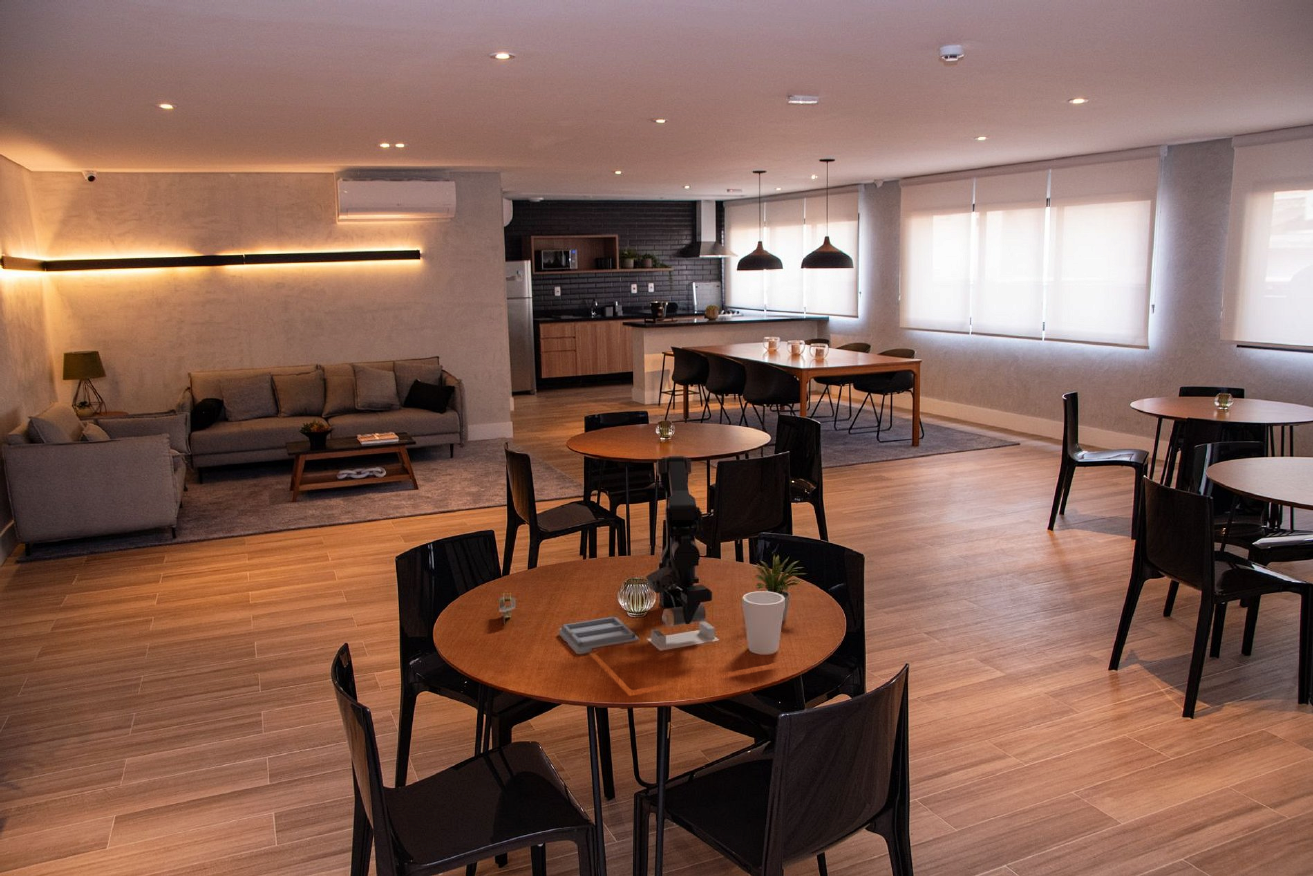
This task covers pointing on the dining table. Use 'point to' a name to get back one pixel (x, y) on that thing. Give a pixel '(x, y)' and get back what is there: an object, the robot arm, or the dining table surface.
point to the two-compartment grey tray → (596, 634)
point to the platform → (506, 608)
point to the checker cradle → (683, 637)
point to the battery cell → (681, 616)
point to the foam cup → (763, 620)
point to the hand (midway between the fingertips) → (683, 621)
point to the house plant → (773, 582)
